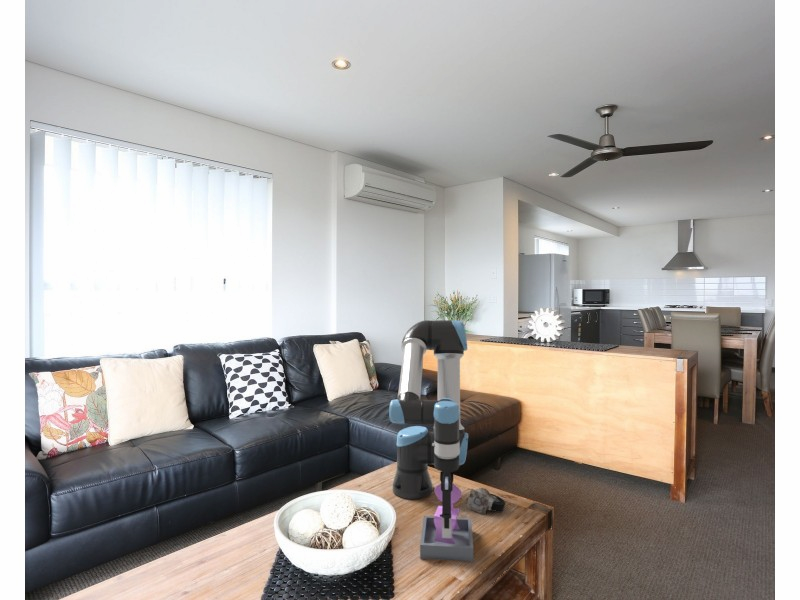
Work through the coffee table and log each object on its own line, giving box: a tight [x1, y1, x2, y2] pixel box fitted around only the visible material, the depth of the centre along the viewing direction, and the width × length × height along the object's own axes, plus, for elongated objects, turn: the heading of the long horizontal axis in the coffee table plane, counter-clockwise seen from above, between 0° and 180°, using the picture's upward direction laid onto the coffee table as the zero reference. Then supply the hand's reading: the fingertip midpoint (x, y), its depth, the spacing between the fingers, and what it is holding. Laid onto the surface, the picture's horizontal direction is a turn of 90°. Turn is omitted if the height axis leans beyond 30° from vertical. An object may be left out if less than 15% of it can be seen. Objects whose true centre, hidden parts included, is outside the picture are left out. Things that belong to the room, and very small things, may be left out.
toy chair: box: [433, 483, 463, 544], centre depth 135 cm, size 8×9×15 cm
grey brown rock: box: [466, 487, 506, 516], centre depth 156 cm, size 7×11×10 cm
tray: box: [419, 515, 474, 563], centre depth 135 cm, size 16×15×4 cm
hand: (446, 528), depth 135 cm, fingers closed on toy chair, 9 cm apart
